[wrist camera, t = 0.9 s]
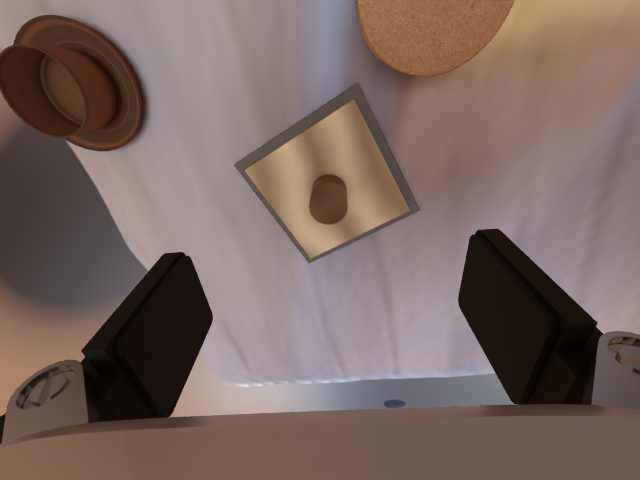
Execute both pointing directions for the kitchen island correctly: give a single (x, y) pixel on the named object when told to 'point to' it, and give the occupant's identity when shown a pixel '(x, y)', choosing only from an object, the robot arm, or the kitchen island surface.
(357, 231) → the birch lid
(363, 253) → the kitchen island surface
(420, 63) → the lidded jar
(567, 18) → the kitchen island surface
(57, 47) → the cup and saucer
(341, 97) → the rubber mat
